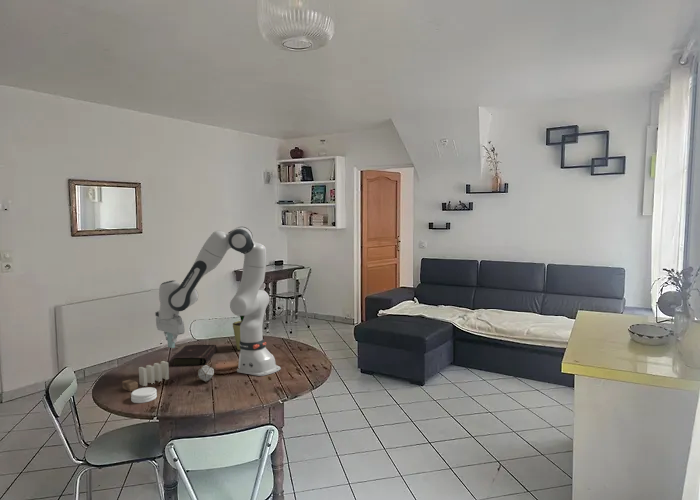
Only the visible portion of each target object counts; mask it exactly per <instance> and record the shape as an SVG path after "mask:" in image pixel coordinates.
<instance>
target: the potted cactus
mask: <svg viewBox="0 0 700 500" xmlns="http://www.w3.org/2000/svg"><path fill="white" fill-rule="evenodd" d="M243 319H244V316H239V320H238V321H237V320H236V321H234V322H233V323H232V328H233V334H234V340H235V345H236V349H237V350H238V351H240V350H241V348H240V345H239V343H240V325H241V323H242V321H243Z"/></svg>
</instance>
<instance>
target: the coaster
mask: <svg viewBox="0 0 700 500" xmlns="http://www.w3.org/2000/svg"><path fill="white" fill-rule="evenodd" d="M157 391H158V390H157V388H155V387H151V386H150V387H148V386H145V387H140V388H138V389H137V390H134V391H132V392H130V396H131V397H130V400H131V402H132V403H134V404H145V403H148V402H152V401H154V400H156V399H157V397H158V395H157V393H158V392H157Z"/></svg>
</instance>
